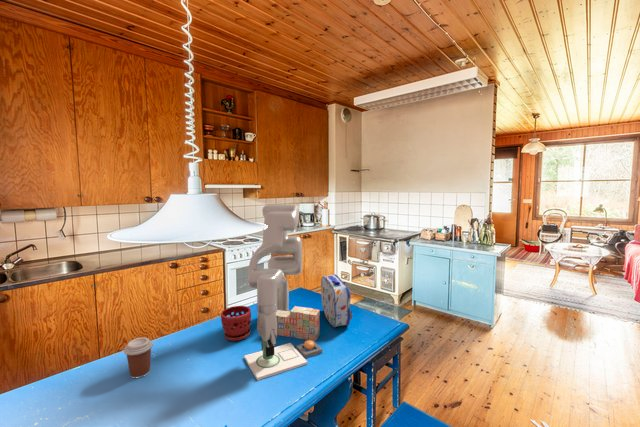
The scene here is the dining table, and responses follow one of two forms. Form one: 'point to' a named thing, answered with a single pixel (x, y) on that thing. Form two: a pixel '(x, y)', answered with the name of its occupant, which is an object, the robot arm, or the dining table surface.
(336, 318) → the lunch box
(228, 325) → the plant pot
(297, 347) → the button housing
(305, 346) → the button
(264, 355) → the marker
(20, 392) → the dining table surface
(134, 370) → the coffee cup
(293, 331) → the stack of blocks
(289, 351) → the activity sheet
